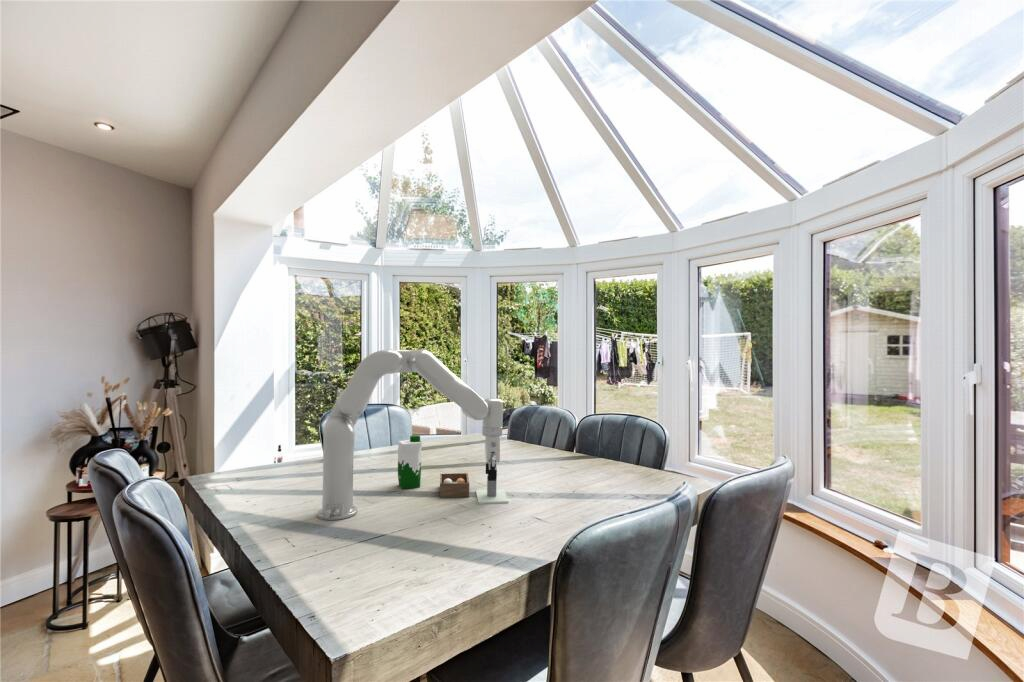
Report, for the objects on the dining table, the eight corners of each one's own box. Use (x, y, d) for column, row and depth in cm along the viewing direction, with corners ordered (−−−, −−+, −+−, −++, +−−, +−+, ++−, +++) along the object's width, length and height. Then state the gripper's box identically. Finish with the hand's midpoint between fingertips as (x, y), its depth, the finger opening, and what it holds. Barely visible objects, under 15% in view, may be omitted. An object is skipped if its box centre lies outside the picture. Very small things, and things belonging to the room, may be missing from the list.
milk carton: (422, 487, 188) (423, 437, 189) (400, 490, 185) (400, 439, 185) (417, 482, 196) (418, 434, 197) (395, 484, 192) (396, 435, 193)
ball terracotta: (465, 488, 186) (465, 479, 186) (455, 488, 185) (456, 479, 185) (464, 485, 189) (464, 476, 189) (455, 486, 189) (455, 477, 189)
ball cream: (452, 488, 185) (452, 479, 185) (443, 489, 185) (443, 479, 185) (452, 486, 189) (452, 477, 189) (443, 486, 188) (443, 477, 188)
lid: (508, 504, 170) (508, 481, 170) (478, 505, 169) (478, 482, 169) (503, 492, 185) (504, 471, 185) (475, 492, 184) (476, 471, 184)
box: (469, 496, 177) (469, 483, 177) (439, 497, 176) (439, 484, 176) (467, 485, 192) (467, 473, 192) (440, 486, 191) (440, 473, 191)
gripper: (505, 435, 169) (503, 483, 169) (499, 427, 187) (498, 471, 186) (484, 435, 168) (482, 483, 168) (480, 427, 186) (479, 471, 185)
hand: (490, 477), depth 177 cm, fingers open, 9 cm apart
